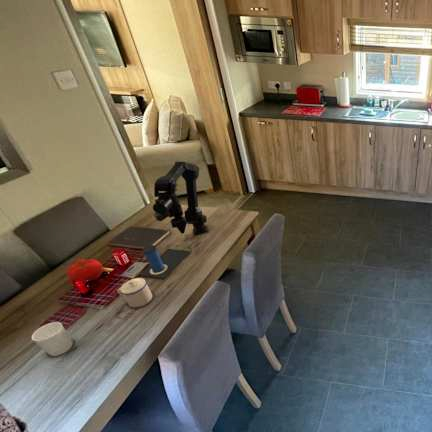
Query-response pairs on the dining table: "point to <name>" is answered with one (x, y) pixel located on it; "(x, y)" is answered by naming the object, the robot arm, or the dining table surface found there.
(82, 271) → the tomato
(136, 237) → the hardcover book
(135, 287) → the teacup with lid
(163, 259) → the mat
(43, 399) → the dining table surface
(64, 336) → the white cup
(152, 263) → the tube
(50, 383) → the dining table surface
